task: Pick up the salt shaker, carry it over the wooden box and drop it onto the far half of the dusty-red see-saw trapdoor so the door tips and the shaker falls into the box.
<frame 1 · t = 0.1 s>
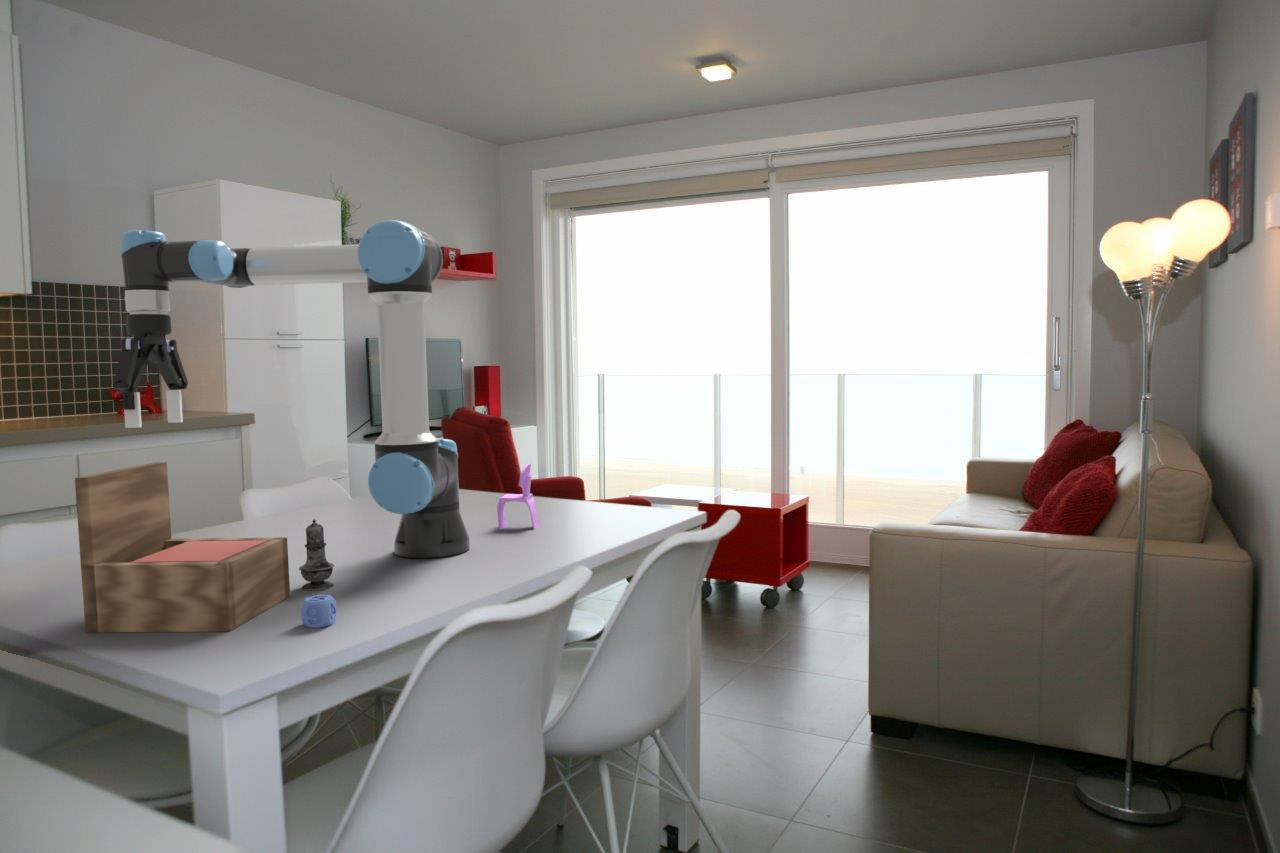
hand: (155, 425, 176), 28 cm above the table, tool pointing down, fingers open, 13 cm apart
wooden box: (194, 613, 144), on the table
toy chair: (519, 528, 213), on the table
salt shaker: (317, 587, 160), on the table
decorative dice: (319, 625, 136), on the table
trapdoor: (203, 553, 143), point 10 cm above the table, hinge at 0.0°
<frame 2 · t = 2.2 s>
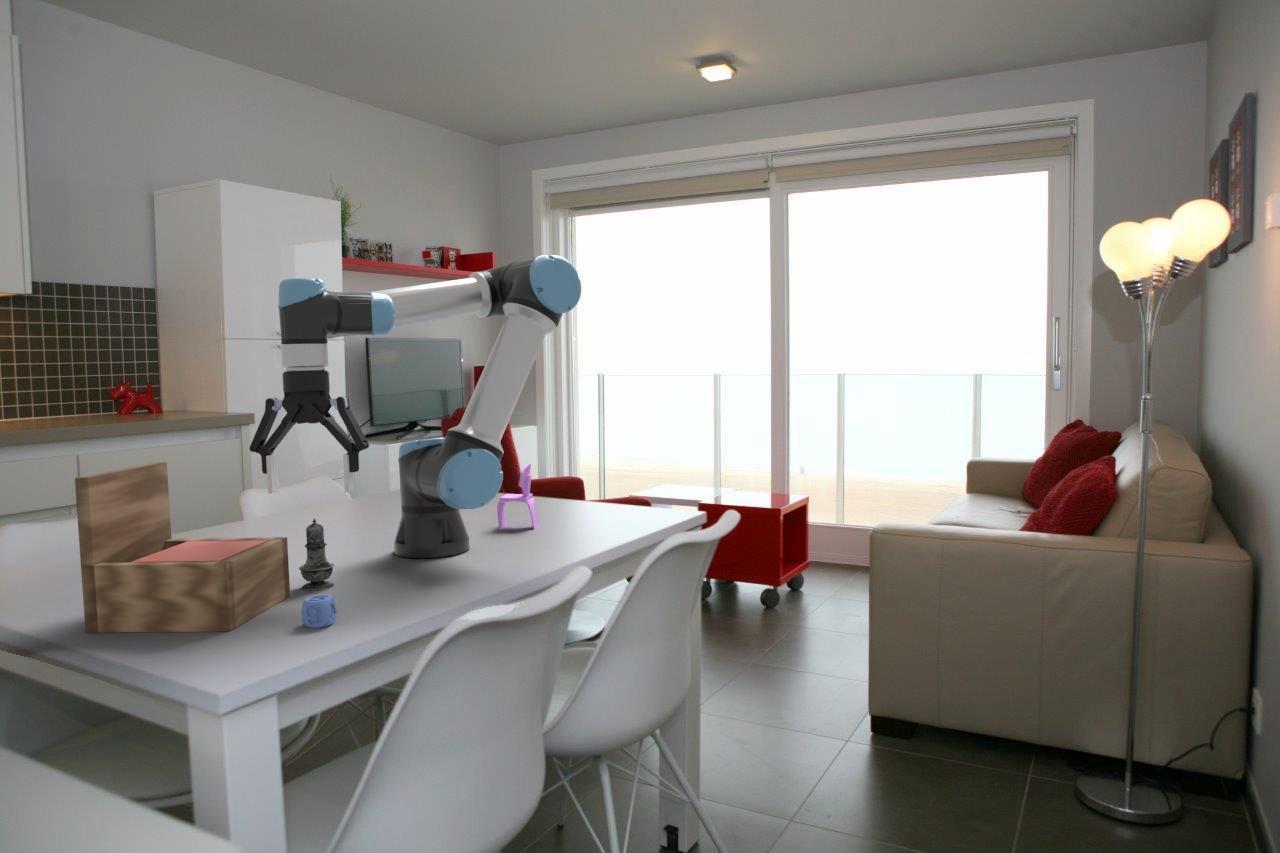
hand: (311, 491, 159), 17 cm above the table, tool pointing down, fingers open, 13 cm apart
nothing on the table moved.
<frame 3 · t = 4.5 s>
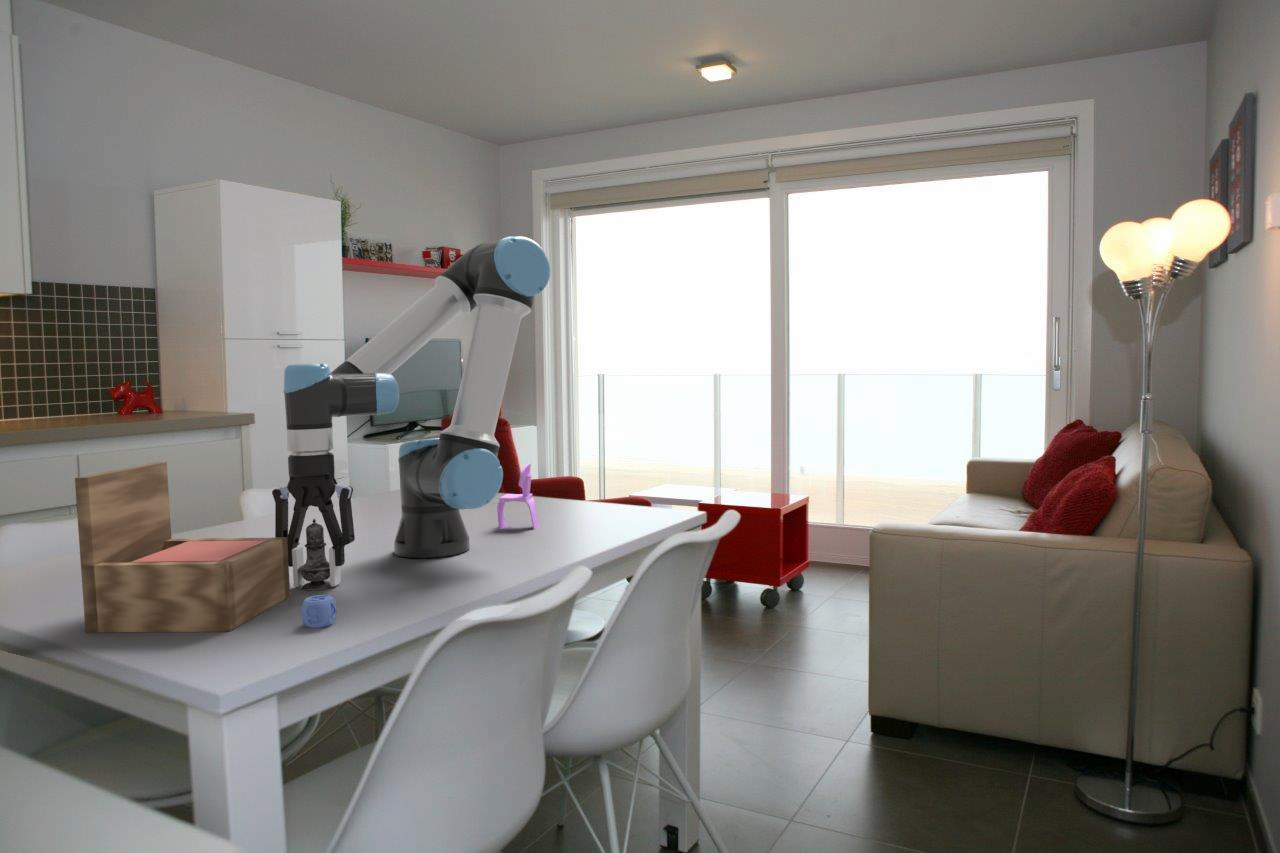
hand: (317, 584, 160), 0 cm above the table, tool pointing down, fingers closed on salt shaker, 6 cm apart
salt shaker: (317, 587, 160), on the table, touching gripper
everything else where it was.
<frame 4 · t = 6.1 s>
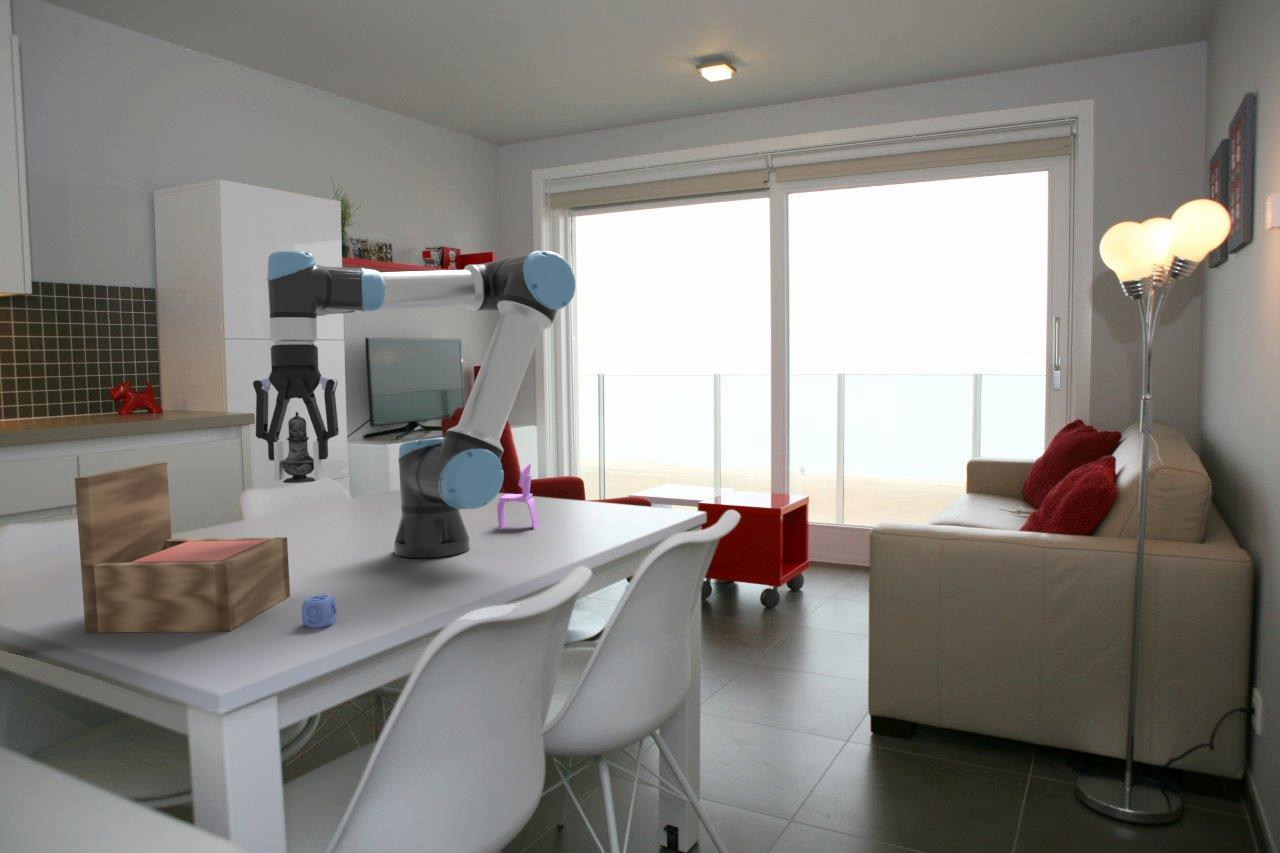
hand: (299, 478, 157), 19 cm above the table, tool pointing down, fingers closed on salt shaker, 6 cm apart
salt shaker: (299, 482, 157), point 19 cm above the table, touching gripper
everything else where it was.
when the fingers open (13 cm above the table, at t = 8.2 s): salt shaker drops 6 cm, resting on wooden box, trapdoor.
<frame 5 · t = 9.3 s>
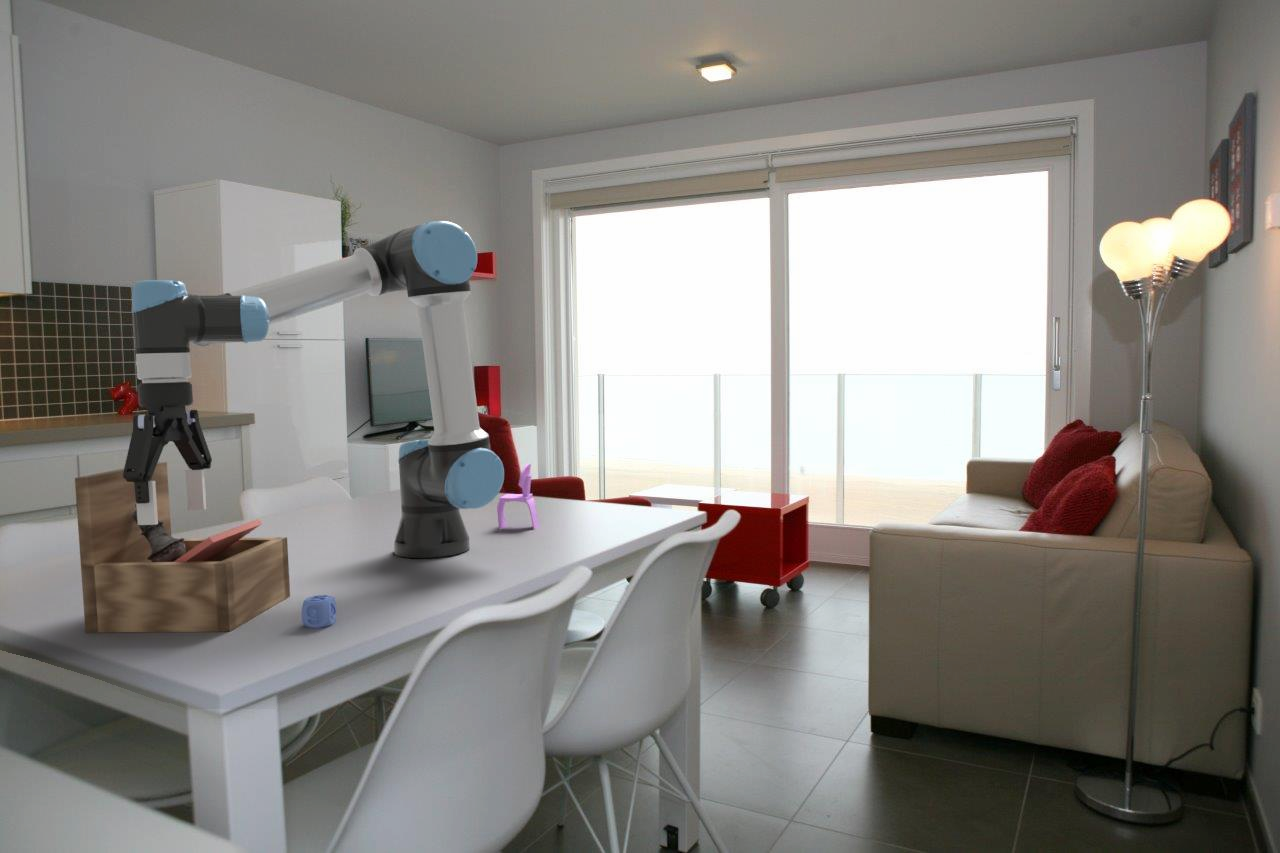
hand: (173, 516, 143), 15 cm above the table, tool pointing down, fingers open, 13 cm apart
salt shaker: (178, 568, 144), point 7 cm above the table, touching wooden box, trapdoor
trapdoor: (203, 553, 143), point 10 cm above the table, hinge at 32.7°, touching salt shaker
everything else where it was.
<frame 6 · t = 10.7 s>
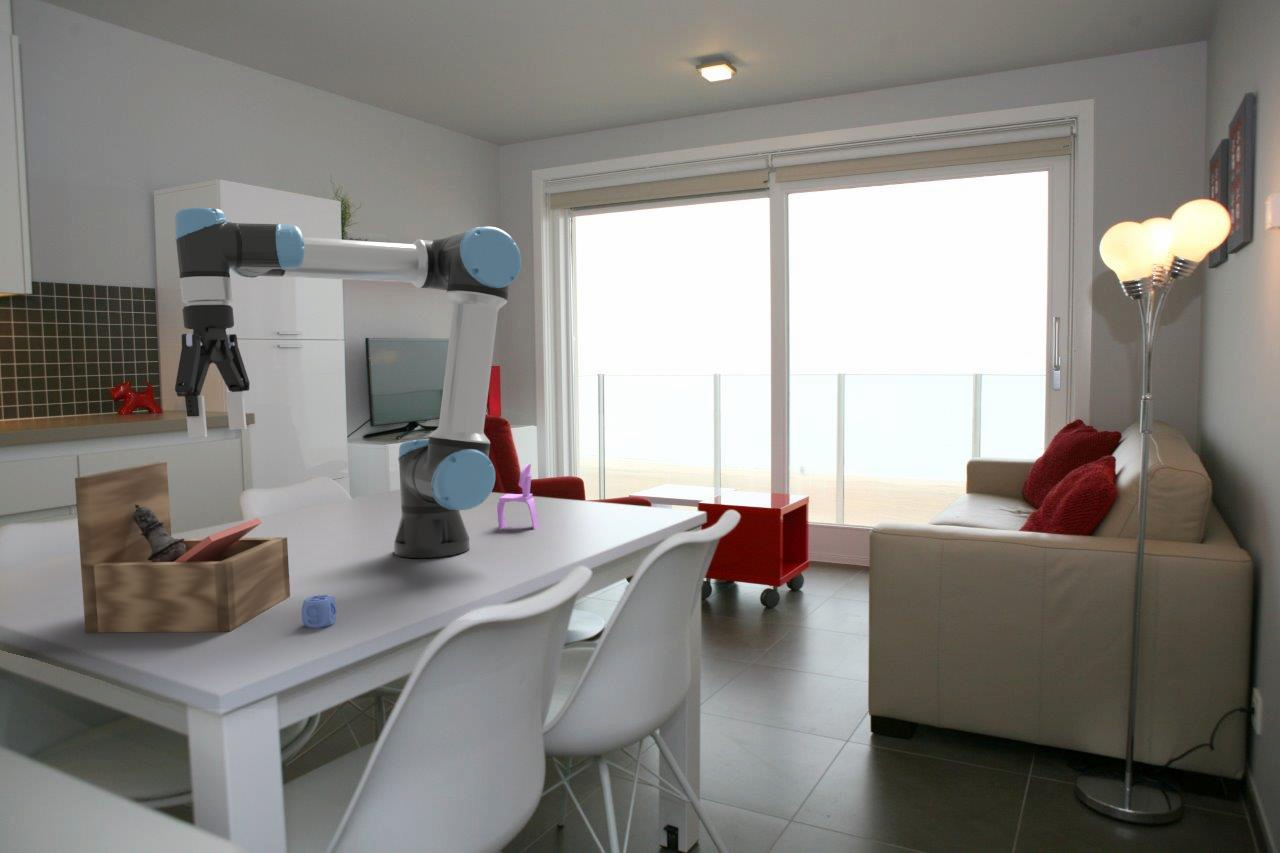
hand: (218, 433, 152), 28 cm above the table, tool pointing down, fingers open, 13 cm apart
trapdoor: (203, 553, 143), point 10 cm above the table, hinge at 34.3°, touching salt shaker
everything else where it was.
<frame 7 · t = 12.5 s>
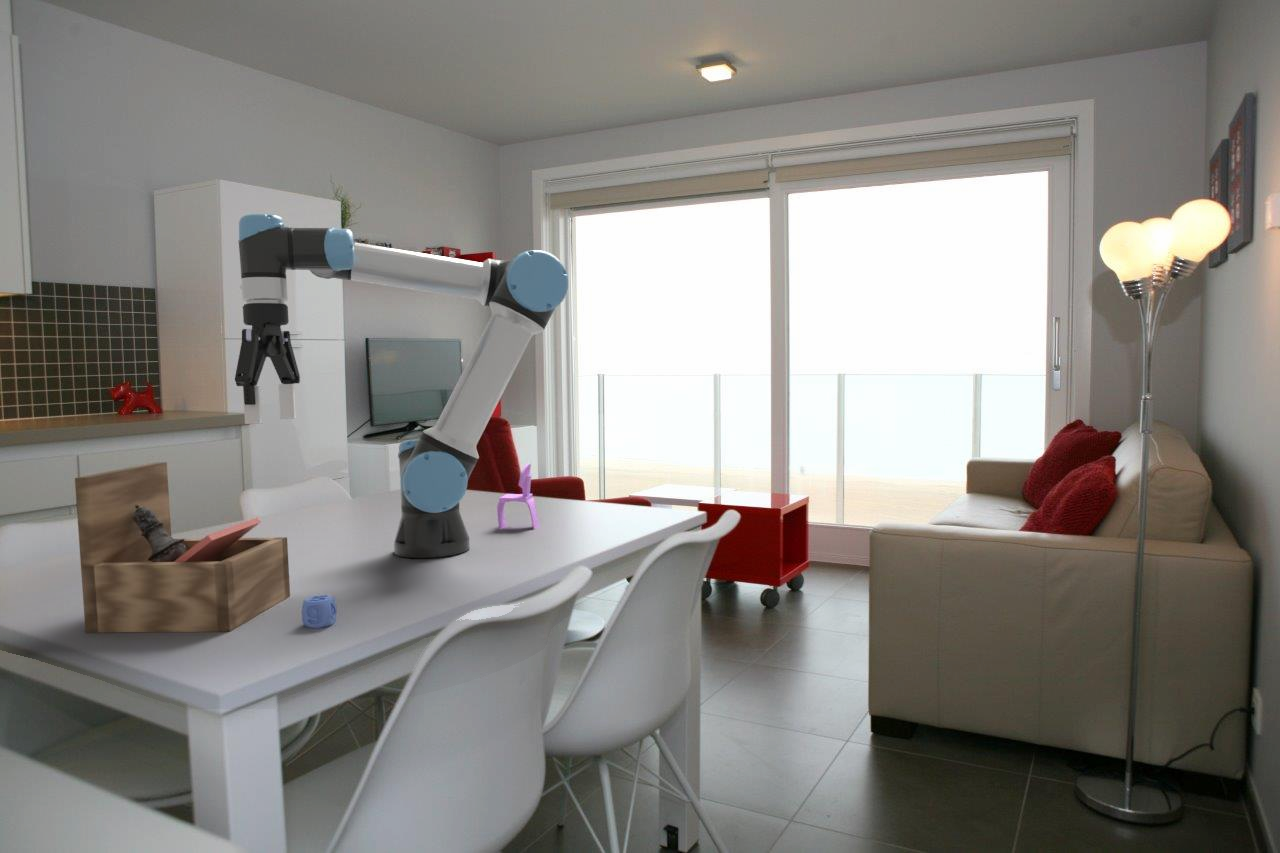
hand: (271, 421, 165), 29 cm above the table, tool pointing down, fingers open, 13 cm apart
trapdoor: (203, 553, 143), point 10 cm above the table, hinge at 35.7°, touching salt shaker
everything else where it was.
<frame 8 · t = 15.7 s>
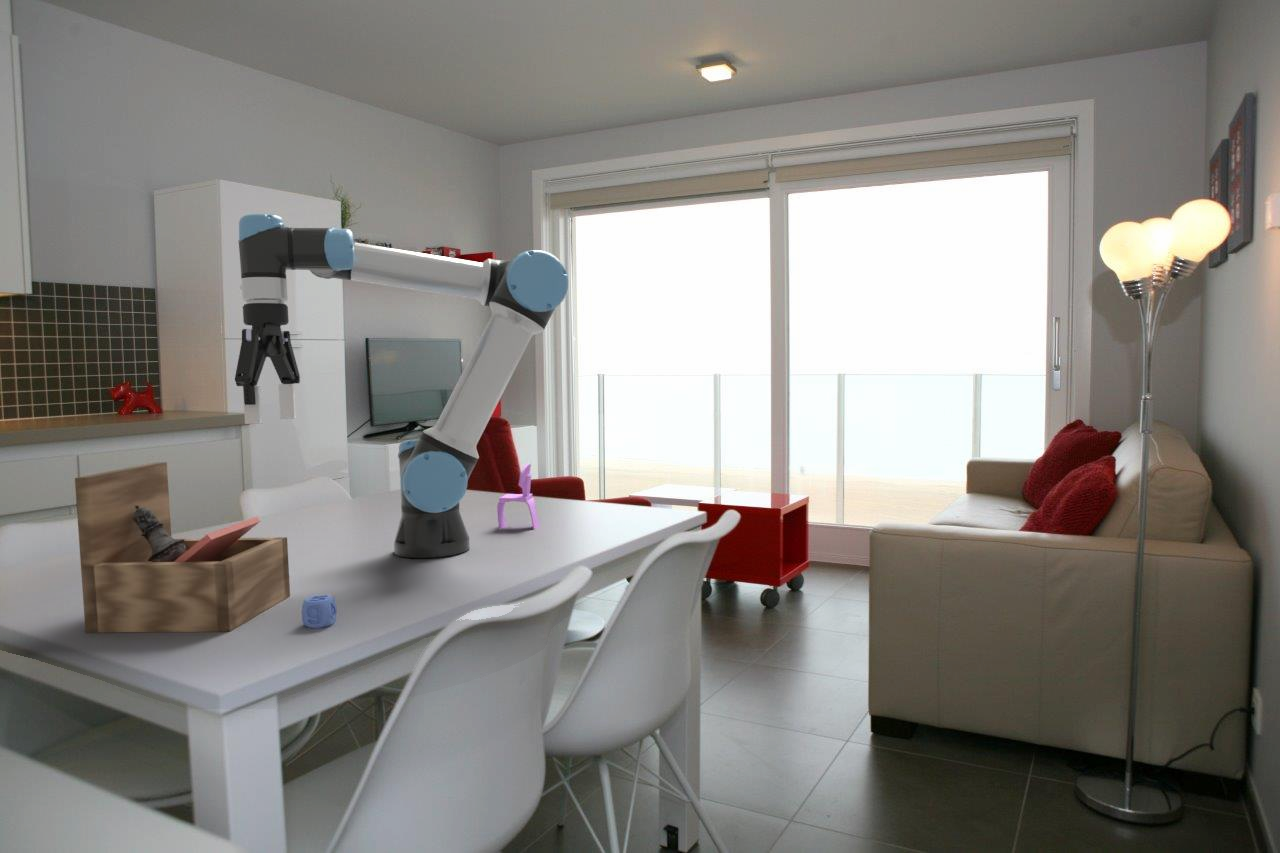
hand: (271, 421, 165), 29 cm above the table, tool pointing down, fingers open, 13 cm apart
trapdoor: (203, 553, 143), point 10 cm above the table, hinge at 36.8°, touching salt shaker
everything else where it was.
at the end: salt shaker point 7.0 cm above the table; salt shaker inside the target area on the wooden box (2.1 cm from its centre), point 7.0 cm above the wooden box's base; the gripper is holding nothing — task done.
